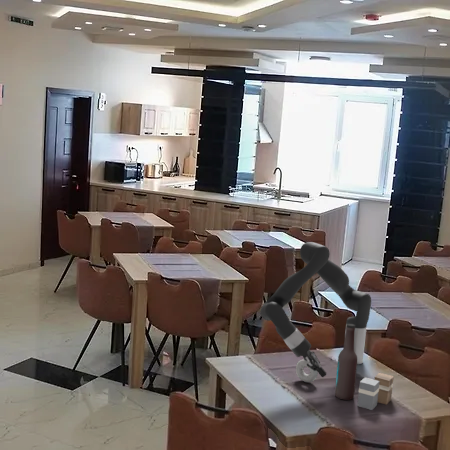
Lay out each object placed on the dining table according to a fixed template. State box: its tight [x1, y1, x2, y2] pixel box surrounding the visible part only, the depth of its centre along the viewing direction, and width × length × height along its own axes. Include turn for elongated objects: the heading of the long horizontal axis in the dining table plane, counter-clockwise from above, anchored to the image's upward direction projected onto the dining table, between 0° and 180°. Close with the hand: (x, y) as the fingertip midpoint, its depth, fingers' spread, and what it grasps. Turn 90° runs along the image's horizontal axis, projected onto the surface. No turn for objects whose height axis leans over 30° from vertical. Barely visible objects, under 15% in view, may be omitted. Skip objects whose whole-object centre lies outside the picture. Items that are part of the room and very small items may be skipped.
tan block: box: [373, 372, 395, 405], centre depth 273 cm, size 6×6×10 cm
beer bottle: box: [334, 324, 358, 401], centre depth 273 cm, size 8×8×30 cm
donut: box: [295, 358, 319, 383], centre depth 286 cm, size 10×4×10 cm, turn 57°
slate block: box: [356, 377, 380, 411], centre depth 267 cm, size 6×6×10 cm
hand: (324, 375), depth 275 cm, fingers closed
